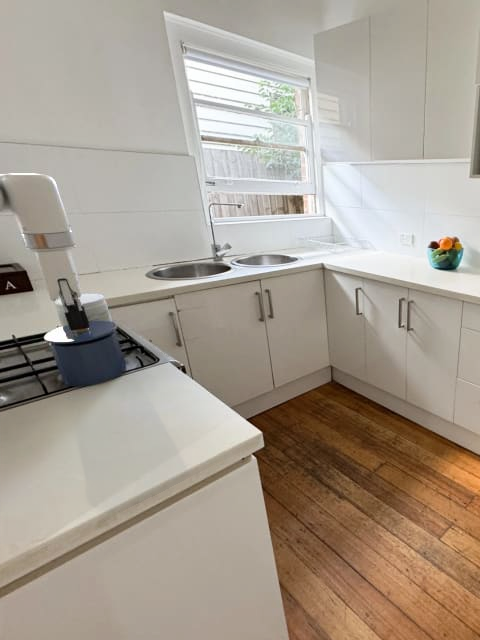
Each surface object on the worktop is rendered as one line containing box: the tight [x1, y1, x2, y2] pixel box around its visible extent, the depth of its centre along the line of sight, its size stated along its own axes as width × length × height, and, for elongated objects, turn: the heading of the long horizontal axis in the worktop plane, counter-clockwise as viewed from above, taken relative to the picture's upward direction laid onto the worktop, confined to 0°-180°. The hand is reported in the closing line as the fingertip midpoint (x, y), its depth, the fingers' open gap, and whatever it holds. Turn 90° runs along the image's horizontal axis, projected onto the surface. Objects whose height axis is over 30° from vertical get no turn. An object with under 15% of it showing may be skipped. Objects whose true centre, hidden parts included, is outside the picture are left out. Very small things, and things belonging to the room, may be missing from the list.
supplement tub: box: [54, 293, 113, 327], centre depth 95 cm, size 10×10×15 cm
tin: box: [48, 330, 127, 387], centre depth 86 cm, size 11×11×10 cm
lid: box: [43, 321, 118, 344], centre depth 83 cm, size 12×12×7 cm
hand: (79, 326), depth 83 cm, fingers closed on lid, 2 cm apart
